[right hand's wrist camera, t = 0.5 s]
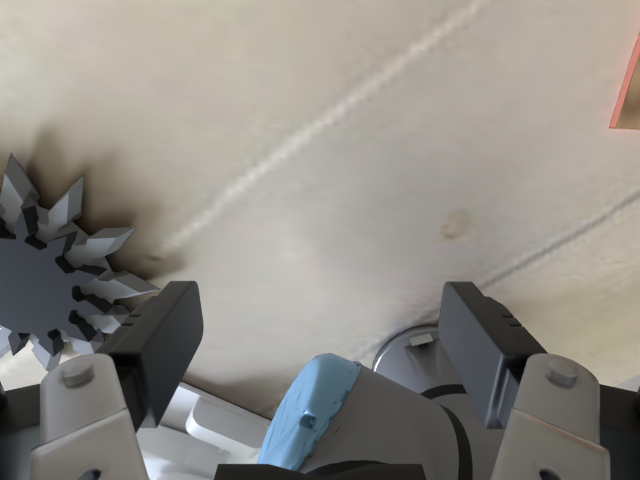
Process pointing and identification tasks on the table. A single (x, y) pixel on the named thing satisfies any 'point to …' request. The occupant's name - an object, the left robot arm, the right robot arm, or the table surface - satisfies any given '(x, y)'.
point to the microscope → (200, 437)
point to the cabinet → (629, 96)
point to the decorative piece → (56, 273)
